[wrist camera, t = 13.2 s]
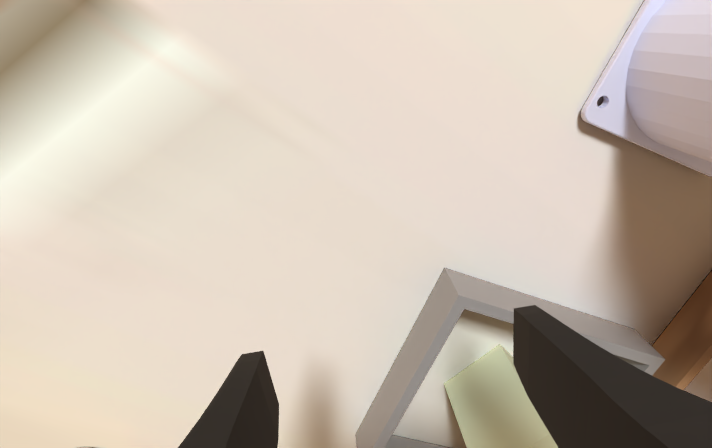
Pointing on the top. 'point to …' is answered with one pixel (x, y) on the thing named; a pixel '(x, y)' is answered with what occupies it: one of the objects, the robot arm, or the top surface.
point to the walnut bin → (687, 339)
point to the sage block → (495, 405)
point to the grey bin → (436, 327)
